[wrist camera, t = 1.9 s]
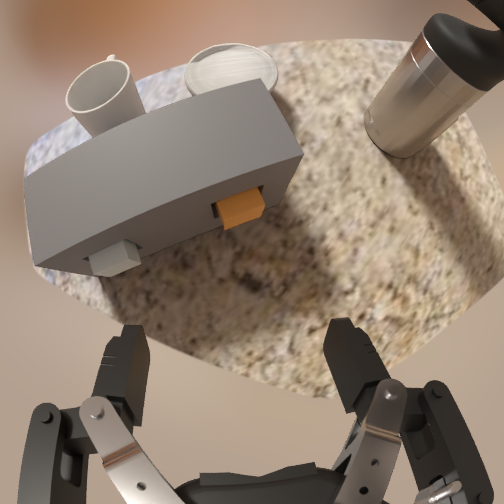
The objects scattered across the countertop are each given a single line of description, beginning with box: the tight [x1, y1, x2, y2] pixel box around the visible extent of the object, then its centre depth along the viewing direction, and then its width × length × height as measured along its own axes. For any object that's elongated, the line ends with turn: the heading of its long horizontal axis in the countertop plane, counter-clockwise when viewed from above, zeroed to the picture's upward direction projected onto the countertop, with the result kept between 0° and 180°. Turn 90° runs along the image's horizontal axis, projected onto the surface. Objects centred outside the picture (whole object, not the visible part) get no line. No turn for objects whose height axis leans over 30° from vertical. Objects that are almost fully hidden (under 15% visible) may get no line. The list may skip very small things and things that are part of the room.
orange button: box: [214, 187, 265, 230], centre depth 25 cm, size 4×4×4 cm
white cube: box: [88, 239, 142, 277], centre depth 24 cm, size 4×4×4 cm
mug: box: [66, 55, 146, 138], centre depth 26 cm, size 10×7×12 cm, turn 4°
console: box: [24, 78, 304, 277], centre depth 25 cm, size 22×8×12 cm, turn 112°
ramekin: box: [185, 43, 278, 97], centre depth 31 cm, size 11×11×5 cm
